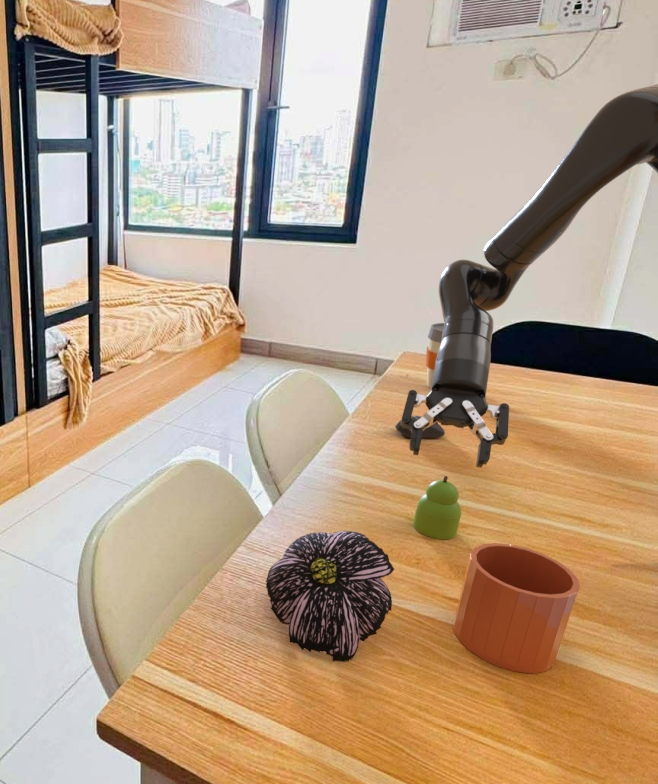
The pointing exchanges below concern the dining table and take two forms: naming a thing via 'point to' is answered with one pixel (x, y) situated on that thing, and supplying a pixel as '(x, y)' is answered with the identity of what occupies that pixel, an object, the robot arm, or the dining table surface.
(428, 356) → the reusable coffee cup
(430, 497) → the green pear
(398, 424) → the computer mouse
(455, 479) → the dining table surface
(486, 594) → the terracotta cup
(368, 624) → the decorative flower
